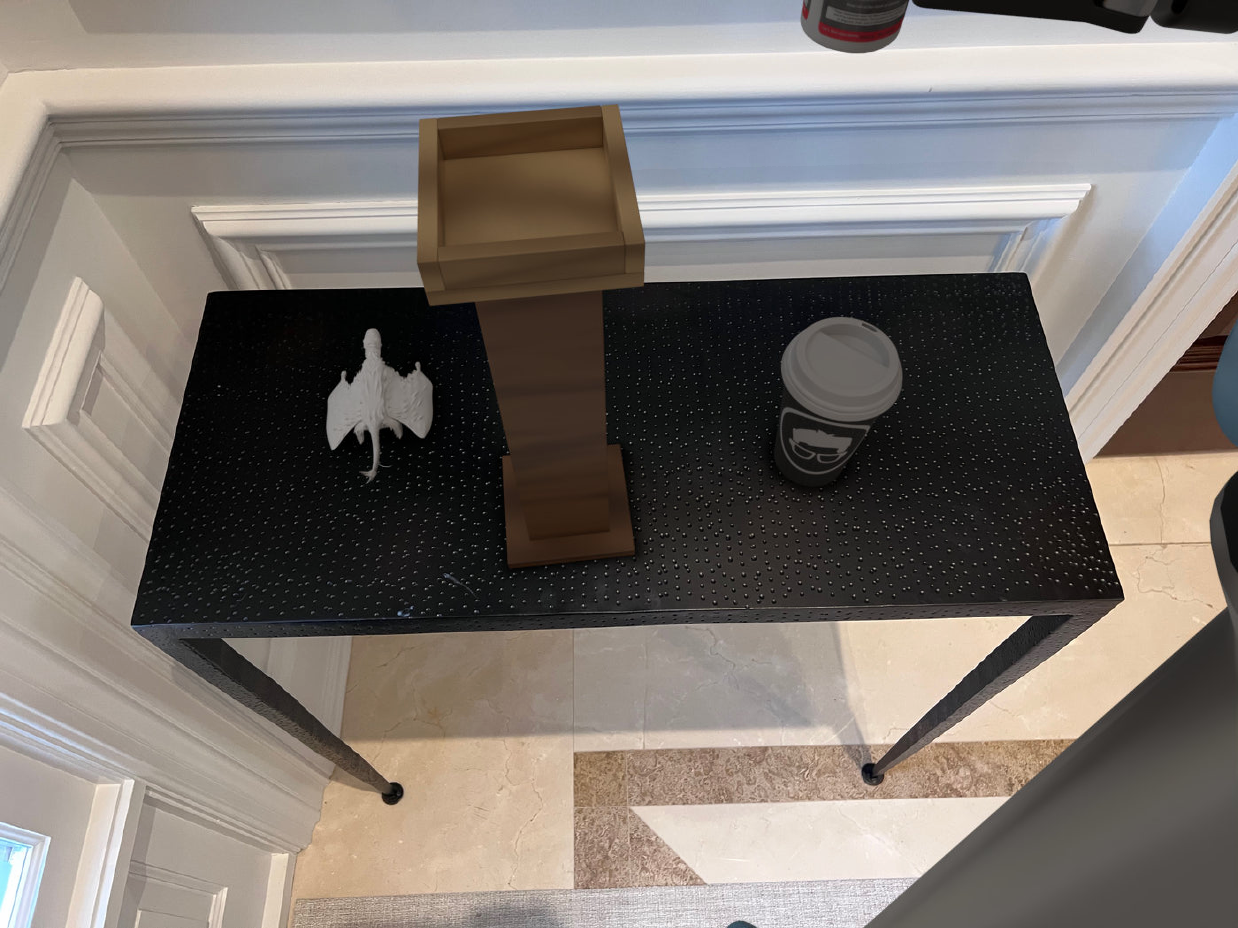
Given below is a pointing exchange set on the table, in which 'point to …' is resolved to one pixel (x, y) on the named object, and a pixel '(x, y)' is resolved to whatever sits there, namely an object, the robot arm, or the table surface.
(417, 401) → the winged dragon toy
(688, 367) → the table surface
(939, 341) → the table surface
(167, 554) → the table surface
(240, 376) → the table surface
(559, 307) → the wooden tray stand
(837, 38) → the pill bottle
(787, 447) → the coffee cup
